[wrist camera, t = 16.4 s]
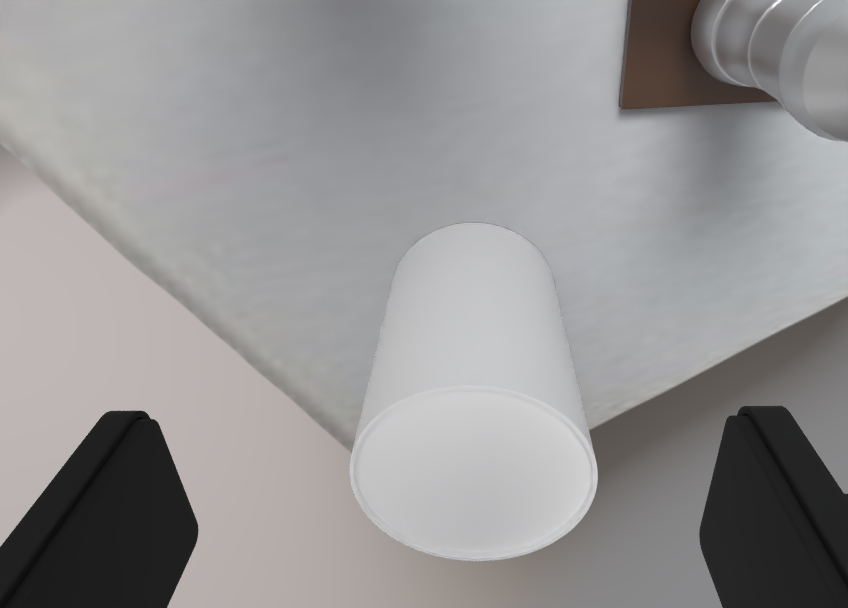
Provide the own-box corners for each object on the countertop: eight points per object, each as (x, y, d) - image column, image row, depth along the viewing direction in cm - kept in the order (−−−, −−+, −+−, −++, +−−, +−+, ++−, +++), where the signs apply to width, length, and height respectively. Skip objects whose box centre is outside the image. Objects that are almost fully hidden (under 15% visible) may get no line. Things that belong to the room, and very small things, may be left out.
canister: (535, 203, 46) (573, 361, 29) (568, 345, 52) (614, 544, 35) (368, 246, 49) (312, 413, 31) (419, 376, 55) (394, 573, 38)
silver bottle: (736, -64, 35) (982, -66, 18) (818, 5, 37) (1116, 62, 20) (658, 37, 38) (806, 117, 21) (736, 97, 40) (933, 216, 23)
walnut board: (634, -64, 37) (637, -64, 36) (863, -82, 35) (873, -83, 34) (618, 106, 42) (621, 109, 41) (818, 95, 40) (825, 98, 40)
